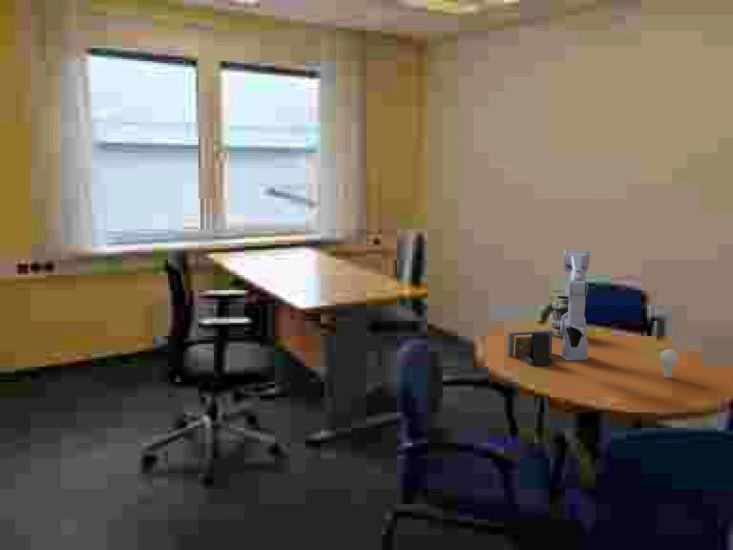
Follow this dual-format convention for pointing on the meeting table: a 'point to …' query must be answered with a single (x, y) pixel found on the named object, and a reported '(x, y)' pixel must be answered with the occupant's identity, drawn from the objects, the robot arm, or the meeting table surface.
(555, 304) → the apothecary jar
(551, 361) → the keeper
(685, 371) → the meeting table surface
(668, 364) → the lightbulb
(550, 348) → the grey picture frame
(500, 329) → the meeting table surface
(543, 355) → the phone stand
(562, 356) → the robot arm
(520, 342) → the door
